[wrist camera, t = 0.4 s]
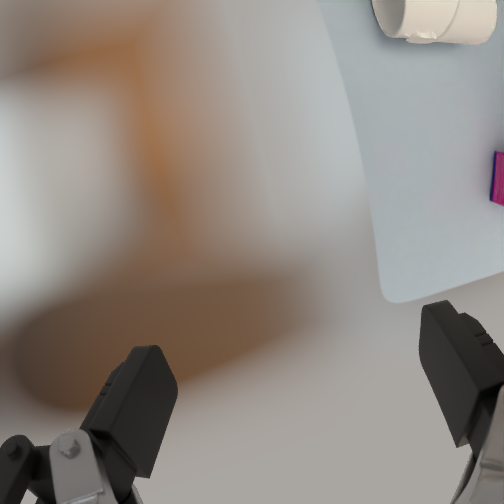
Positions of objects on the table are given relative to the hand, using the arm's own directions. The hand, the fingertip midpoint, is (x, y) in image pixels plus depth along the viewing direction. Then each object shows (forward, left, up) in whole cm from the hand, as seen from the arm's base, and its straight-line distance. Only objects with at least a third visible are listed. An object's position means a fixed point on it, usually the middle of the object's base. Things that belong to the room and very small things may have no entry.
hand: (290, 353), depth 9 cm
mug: (-15, +21, -22) cm, 33 cm away
